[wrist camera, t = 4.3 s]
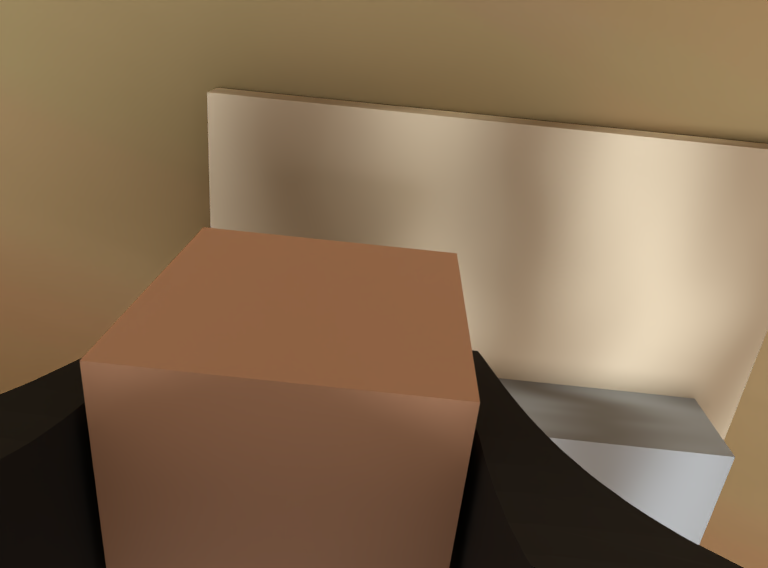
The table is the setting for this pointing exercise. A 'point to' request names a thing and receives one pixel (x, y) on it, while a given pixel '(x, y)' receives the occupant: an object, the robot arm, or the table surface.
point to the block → (284, 408)
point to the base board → (544, 262)
